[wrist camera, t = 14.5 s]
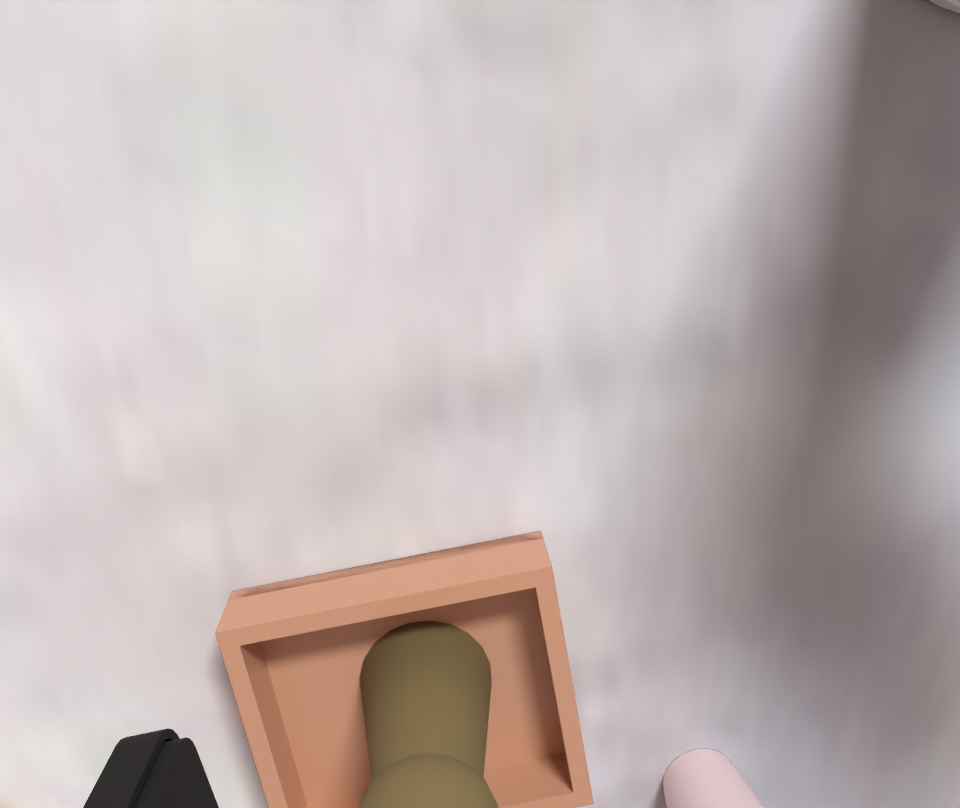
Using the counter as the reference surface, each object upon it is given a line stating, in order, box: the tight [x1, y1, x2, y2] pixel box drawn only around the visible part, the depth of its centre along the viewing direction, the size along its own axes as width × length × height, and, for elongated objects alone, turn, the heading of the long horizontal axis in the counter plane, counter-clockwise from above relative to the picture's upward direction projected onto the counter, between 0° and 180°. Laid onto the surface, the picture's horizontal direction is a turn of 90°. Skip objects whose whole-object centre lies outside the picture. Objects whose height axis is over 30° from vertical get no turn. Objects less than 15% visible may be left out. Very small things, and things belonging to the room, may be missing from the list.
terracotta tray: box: [215, 531, 594, 808], centre depth 40 cm, size 14×12×4 cm
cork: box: [359, 620, 498, 808], centre depth 35 cm, size 6×6×11 cm
